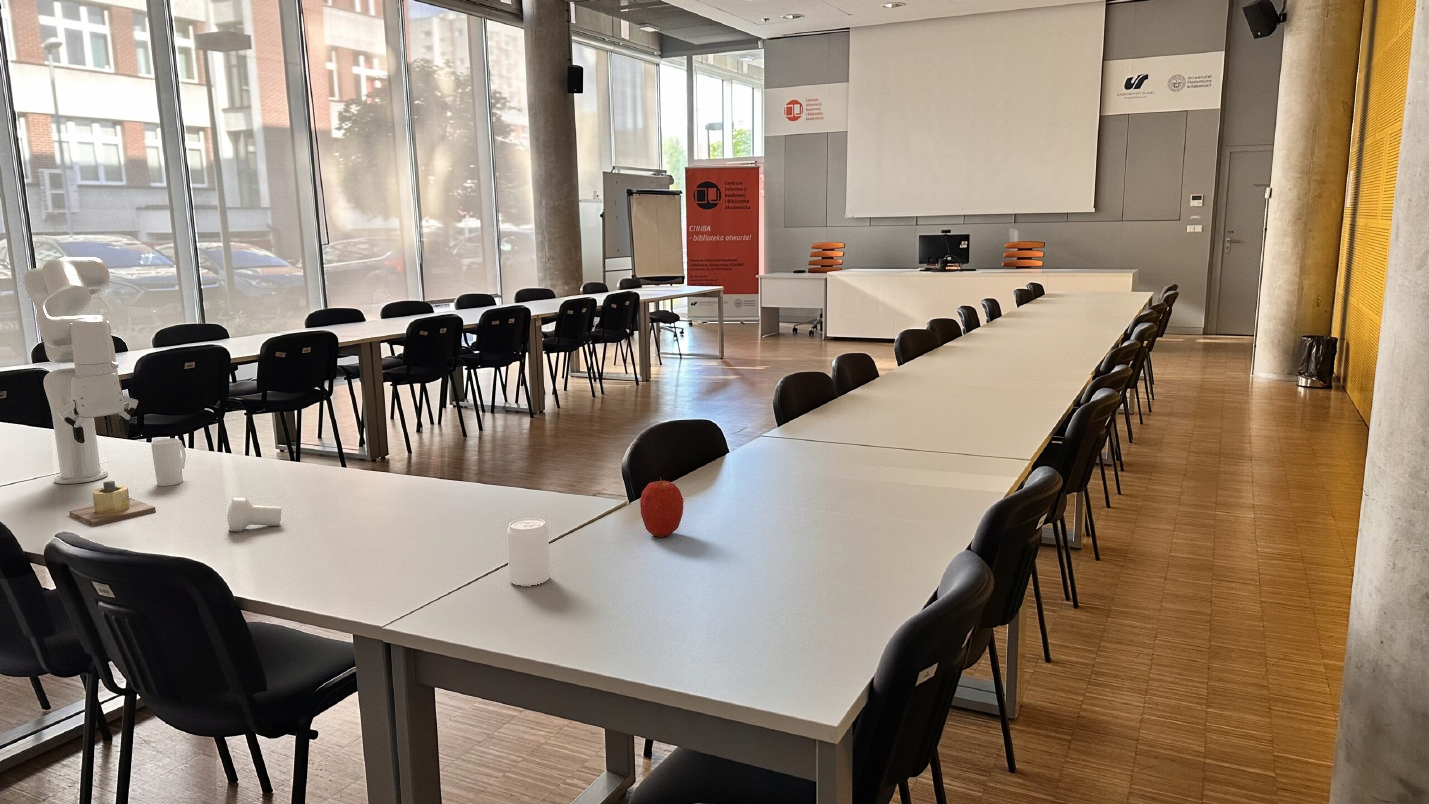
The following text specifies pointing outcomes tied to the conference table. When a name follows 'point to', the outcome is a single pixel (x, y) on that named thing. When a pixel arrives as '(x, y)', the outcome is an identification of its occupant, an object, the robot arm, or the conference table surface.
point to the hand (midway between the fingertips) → (102, 438)
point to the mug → (168, 461)
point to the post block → (96, 519)
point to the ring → (111, 500)
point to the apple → (661, 508)
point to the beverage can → (528, 552)
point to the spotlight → (251, 514)
